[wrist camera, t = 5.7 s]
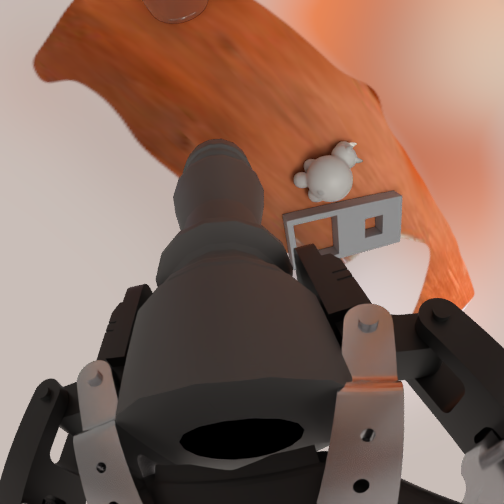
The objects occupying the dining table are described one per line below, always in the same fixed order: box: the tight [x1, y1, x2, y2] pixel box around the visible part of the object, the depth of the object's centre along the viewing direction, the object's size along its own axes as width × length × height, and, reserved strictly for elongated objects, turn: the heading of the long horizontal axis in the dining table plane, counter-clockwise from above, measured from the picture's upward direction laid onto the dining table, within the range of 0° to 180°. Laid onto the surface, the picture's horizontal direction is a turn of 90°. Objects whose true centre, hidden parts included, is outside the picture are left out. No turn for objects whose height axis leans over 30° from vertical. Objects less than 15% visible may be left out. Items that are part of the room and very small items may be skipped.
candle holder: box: [115, 139, 353, 470], centre depth 16 cm, size 6×6×25 cm
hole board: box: [283, 191, 402, 270], centre depth 49 cm, size 10×23×3 cm, turn 101°
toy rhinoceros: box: [294, 141, 363, 202], centre depth 41 cm, size 7×12×8 cm, turn 133°
